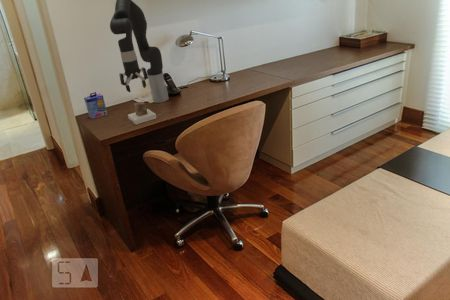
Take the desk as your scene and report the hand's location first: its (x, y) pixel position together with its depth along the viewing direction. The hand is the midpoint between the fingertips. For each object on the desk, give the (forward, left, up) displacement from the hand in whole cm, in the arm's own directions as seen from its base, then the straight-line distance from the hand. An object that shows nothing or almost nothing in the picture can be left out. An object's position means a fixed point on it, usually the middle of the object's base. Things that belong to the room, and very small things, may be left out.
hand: (136, 89), depth 193 cm
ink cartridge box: (+18, -26, -17) cm, 36 cm away
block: (0, 0, -14) cm, 14 cm away
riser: (0, 0, -17) cm, 17 cm away
